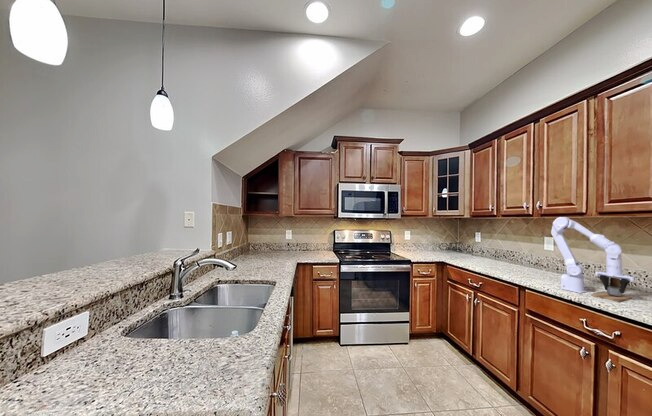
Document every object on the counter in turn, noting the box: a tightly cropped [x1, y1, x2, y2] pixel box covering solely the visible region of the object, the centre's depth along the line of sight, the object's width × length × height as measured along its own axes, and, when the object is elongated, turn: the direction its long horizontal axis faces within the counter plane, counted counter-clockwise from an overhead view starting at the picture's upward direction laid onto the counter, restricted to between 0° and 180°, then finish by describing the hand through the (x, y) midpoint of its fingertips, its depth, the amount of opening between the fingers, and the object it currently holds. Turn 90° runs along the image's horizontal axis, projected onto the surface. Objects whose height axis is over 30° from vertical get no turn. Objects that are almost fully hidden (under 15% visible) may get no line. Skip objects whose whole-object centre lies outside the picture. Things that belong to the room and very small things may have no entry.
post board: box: [590, 290, 633, 303], centre depth 141 cm, size 11×14×5 cm
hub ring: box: [606, 286, 623, 296], centre depth 140 cm, size 5×5×4 cm
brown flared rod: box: [609, 277, 621, 288], centre depth 153 cm, size 7×6×18 cm
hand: (614, 291), depth 141 cm, fingers closed on hub ring, 5 cm apart
